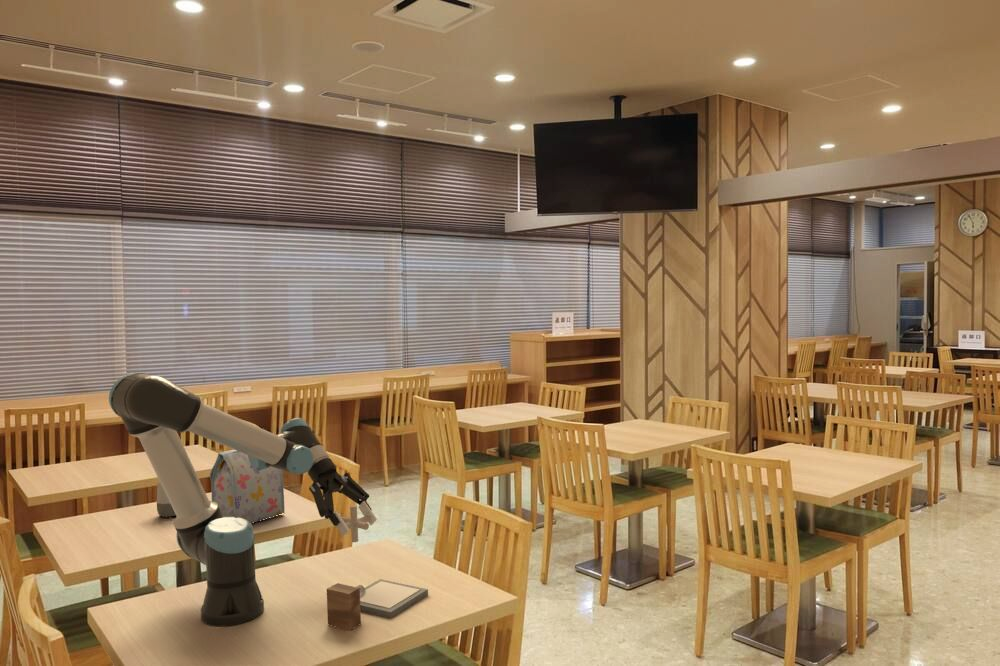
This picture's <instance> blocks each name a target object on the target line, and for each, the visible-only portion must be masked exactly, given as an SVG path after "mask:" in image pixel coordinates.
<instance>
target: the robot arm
mask: <svg viewBox="0 0 1000 666" xmlns="http://www.w3.org/2000/svg"><path fill="white" fill-rule="evenodd" d="M108 402H109V405H110V408H111V410H112V411H113V412H114V414H116V415H117V416H118V417H119V418H121V420H122V422H123V424H124V426H125V429H126V430H127V432H128V434H129V435H130V436H132V437H135V438H138V439H139V442H140V443H141V446H142V448H143V450H144V452H145V454H146V456H147V458H148V460H149V461H150V462H149V463H150V464H151V466H152V469H153V471H154V473H155V474H156V477H157V478H158V481H159V483H161V485H162V487H163V489H164V491H165V493H166V495H167V497H168V499H169V501H170V504H171V506H172V508H173V510H174V512H175V514H176V517H175V520H174V522H173V526H174V528H175V530H176V542H177V545H178V548H179V549H180V550H181V551H182V552H183V553H184V554H185V556H187V557H189V558H191V559H194V560H196V561H197V562H199V563H201V564H202V565H205V567H206V570H205V571H206V586H207V587H206V592H205V594H204V599H203V604H202V606H201V609H200V619H201V622H202V623H204V624H206V625H209V626H214V627H217V626H218V627H227V626H228V627H229V626H235V625H239V624H240V625H241V624H244V623H246V622H251V621H252V620H254V619H256V618H258V617H259V616H261V615H262V614H263V612H264V610H265V601H264V598H263V595H262V592H261V590H260V587H259V585H258V583H257V578H256V558H255V557H256V556H255V539H256V538H255V532H254V527H253V525H252V524H253V523H252V524H251V523H250V522H249V521H247V520H246V519H243V518H235V517H223V515H222V513H221V511H220V509H219V507H218V504H217V503H216V502H212V500H209V497H208V495H207V493H206V491H205V489H204V487H203V484H202V483H201V480H200V478H199V476H198V474H197V472H196V469H195V467H194V466H193V463H192V462H191V458H190V457H189V455H188V453H187V451H186V448H185V447H184V443H183V441H182V440H181V437H180V435H179V434H178V433H181V434H182V433H186V432H190V433H192V434H194V435H197V436H200V437H202V438H204V439H207V440H210V441H212V442H213V443H217V444H219V445H221V446H224V447H226V448H229V449H231V450H237V451H239V452H242V453H244V454H246V455H248V459H249V462H250V464H251V465H252V467H253V468H254V469H255V470H258V471H259V470H262V469H267V468H268V467H270V466H272V467H275V468H278V469H282V470H283V471H285V472H288V473H292V474H293V475H303V474H306V473H307V475H308V476H309V478H310V479H311V481H312V483H311V484H310V486H309V488H308V489H309V492H310V493H311V494H312V497H313V499H314V502H315V506H316V509H317V512H318V514H319V517H320V518H325V520H328V519H329V520H330V522H331V524H332V525H333V526H334V527H336V528H337V530H338V531H339V533H340V535H342V537H346V535H348V533H349V532H351V529H349V528H348V527H347V525H346V524H345V522H344V521H343V519H342V518H341V517H342V516H341V514H340V513H339V512H338V510H336V511H335V509H334V508H335V504H334V497H333V494H334V493H338V494H342V495H344V496H345V497H347V498H349V499H350V500H352V501H353V502H354V503H356V504H357V505H358V506H357V509H359V511H360V513H361V514H362V515H363V517H365V516H369V517H370V521H369V522H367V523H368V524H369V526H373V525H374V524H375V523H376V521H378V518H377V517H376V515H375V514H374V513H373V511H372V510H373V509H372V508H371V506H370V504H369V503H368V502H367V500H368V499H369V498H370V494H369V493H368V492H367V491H366V490H365V489H364V488H363V487H361V485H359V483H358V482H356V481H355V480H354V479H353V478H352V476H351V475H350V473H349V472H344V474H339V473H338V471H337V466H336V464H335V462H334V461H333V460H332V458H330V455H329V454H328V453H327V451H326V450H325V448H324V447H323V445H322V444H321V442H320V441H319V439H318V437H316V434H314V432H313V430H312V428H311V427H310V426H309V425H308V423H307V422H306V421H305V419H304V418H301V417H295V418H292V419H289V421H287V422H285V423H284V424H283V425H282V427H281V429H280V433H278V434H275V433H273V432H270V431H268V430H266V429H264V428H263V427H262V428H261V427H259V426H257V425H254V424H252V423H250V422H247V421H246V420H244V419H241V418H238V417H237V416H235V415H233V414H232V415H231V414H229V413H227V412H224V411H223V410H220V409H218V408H216V407H214V406H211V405H209V404H207V403H205V402H203V400H202V397H200V395H197V394H194V393H193V392H190V391H188V390H187V389H185V388H183V387H182V386H180V385H178V384H176V383H174V382H173V381H170V380H169V379H167V378H165V377H163V376H162V377H161V376H159V375H150V374H147V373H143V372H135V373H134V372H133V373H128V374H125V375H122V377H120V378H118V379H117V380H116V381H115V383H113V385H112V387H111V389H110V391H109V395H108Z"/></svg>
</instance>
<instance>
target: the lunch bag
mask: <svg viewBox="0 0 1000 666" xmlns="http://www.w3.org/2000/svg"><path fill="white" fill-rule="evenodd" d="M209 479H210V480H211V501H212V502H216V503H217V504H218V507H219V509H220V511H221V513H222V515H223V517H235V518H243V519H246V520H247V521H249V522H250V523H252V524H254V523H253V522H256V523H258V522H257V521H259V522H261V521H260V520H263V519H266V518H269V517H273V516H276V515H279V514H282V513H284V514H285V492H284V490H285V489H284V470H282V469H278V468H275V467H272V466H270V467H268V468H267V469H262V470H259V471H258V470H255V469H254V468H253V467H252V465H251V464H250V462H249V459H248V455H246V454H244V453H242V452H239V451H237V450H234V449H231V450H225V451H221V452H220V451H219V452H218V453H217V457H216V459H215V462H214V464H213V466H212V468H211V471H210V473H209ZM273 518H274V517H273ZM263 521H264V520H263Z"/></svg>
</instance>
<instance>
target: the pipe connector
mask: <svg viewBox="0 0 1000 666" xmlns="http://www.w3.org/2000/svg"><path fill="white" fill-rule="evenodd" d="M357 505H358V504H357ZM357 505H356V504H351V505H349V506H350V509H349V510H350V512H349V513H350V518H349V517H346V516H341V518H342V519H343V521H344V522H345V524H346V525H347V527H348V528H349V530H350V533H351V534H350V535H351V542H352V543H357V542H359V529H362V530H364V531H367V530H368V529H369V528H370V527H369V526H370V524H369V523H368V522H369V521H370V517H369V516H365V517H364V516H362V517H360V518H358V506H357Z"/></svg>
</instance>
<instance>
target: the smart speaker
mask: <svg viewBox="0 0 1000 666" xmlns="http://www.w3.org/2000/svg"><path fill="white" fill-rule="evenodd" d="M156 511H157V514H158V516H159V517H161V516H162V517H161V518H164V517H171V518H173V517H172V516H176V514H175V512H174V510H173V508H172V506H171V504H170V501H169V499H168V497H167V495H166V493H165V491H164V489H163V487H162V485H161V483H160V482H158V483H157V486H156ZM176 517H177V516H176Z"/></svg>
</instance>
